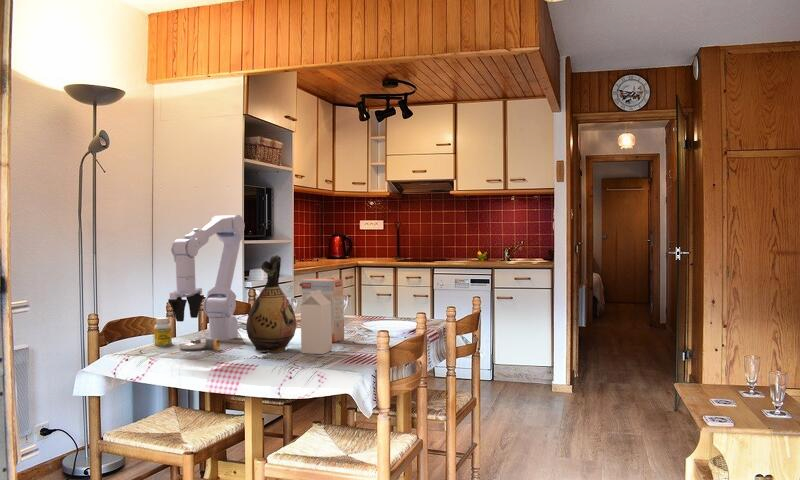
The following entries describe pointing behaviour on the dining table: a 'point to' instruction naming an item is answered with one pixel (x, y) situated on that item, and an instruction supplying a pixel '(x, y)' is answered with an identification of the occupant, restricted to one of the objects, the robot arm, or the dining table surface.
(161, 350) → the board
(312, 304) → the milk carton
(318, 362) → the dining table surface
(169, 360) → the dining table surface
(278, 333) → the ceramic jug
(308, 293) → the cracker box
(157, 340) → the supplement bottle
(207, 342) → the dial
